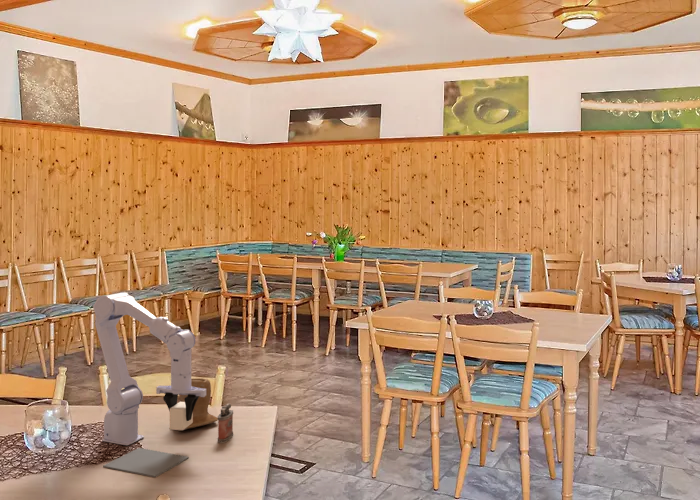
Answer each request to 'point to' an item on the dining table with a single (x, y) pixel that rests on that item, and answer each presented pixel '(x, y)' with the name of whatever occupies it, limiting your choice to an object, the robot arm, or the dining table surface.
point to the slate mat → (146, 462)
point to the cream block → (179, 417)
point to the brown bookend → (201, 404)
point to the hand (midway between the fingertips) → (181, 419)
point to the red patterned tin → (225, 423)
